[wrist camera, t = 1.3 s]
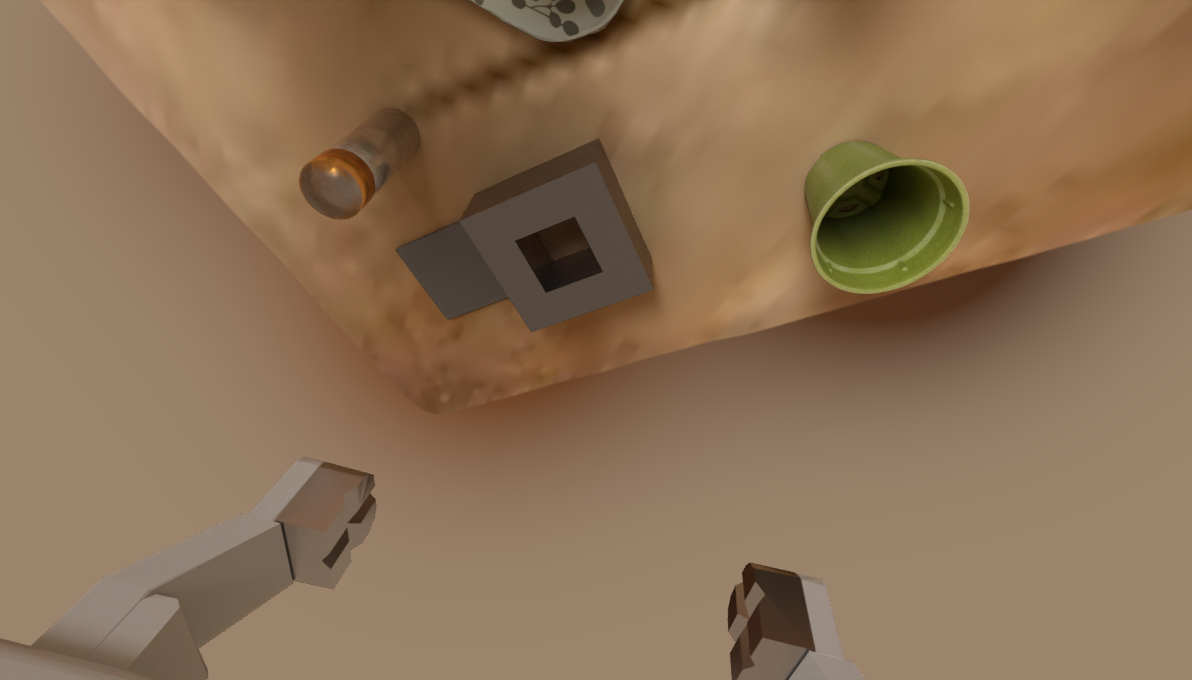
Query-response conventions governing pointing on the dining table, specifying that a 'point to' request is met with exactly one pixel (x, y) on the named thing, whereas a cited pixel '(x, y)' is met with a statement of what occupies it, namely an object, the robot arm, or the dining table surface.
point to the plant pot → (881, 217)
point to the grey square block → (544, 199)
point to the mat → (452, 271)
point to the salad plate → (554, 16)
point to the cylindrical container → (359, 164)
